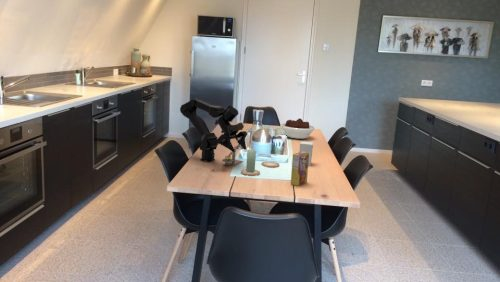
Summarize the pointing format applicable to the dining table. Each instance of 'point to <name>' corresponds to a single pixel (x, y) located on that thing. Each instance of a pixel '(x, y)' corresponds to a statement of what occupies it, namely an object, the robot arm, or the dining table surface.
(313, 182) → the dining table surface
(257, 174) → the dish
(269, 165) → the dish
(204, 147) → the robot arm
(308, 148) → the supplement box
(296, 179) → the candy box
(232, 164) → the balance
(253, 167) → the grey green cylinder
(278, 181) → the dining table surface
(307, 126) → the bowl with brown lumps
